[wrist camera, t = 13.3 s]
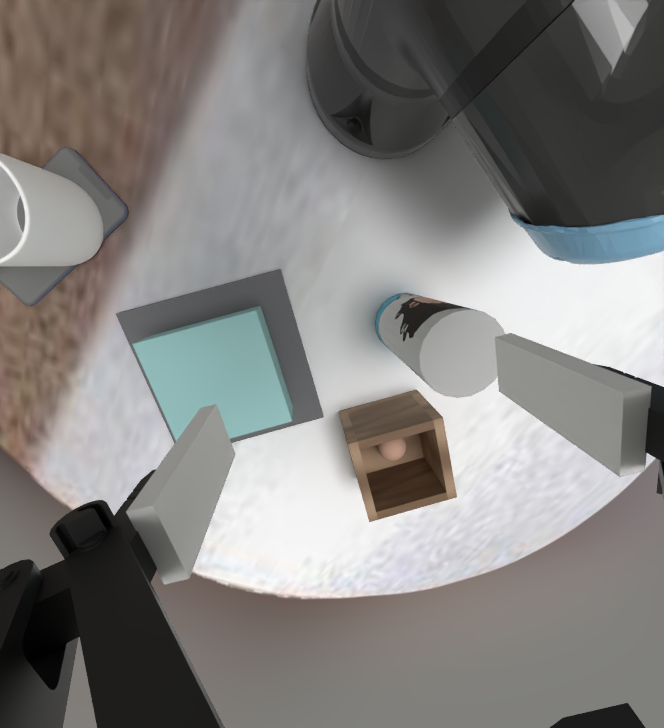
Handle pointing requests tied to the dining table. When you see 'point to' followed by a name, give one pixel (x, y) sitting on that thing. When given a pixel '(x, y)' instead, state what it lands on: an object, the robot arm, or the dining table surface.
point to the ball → (392, 449)
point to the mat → (226, 301)
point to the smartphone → (24, 279)
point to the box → (414, 469)
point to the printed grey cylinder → (441, 342)
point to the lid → (218, 373)
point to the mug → (45, 218)
